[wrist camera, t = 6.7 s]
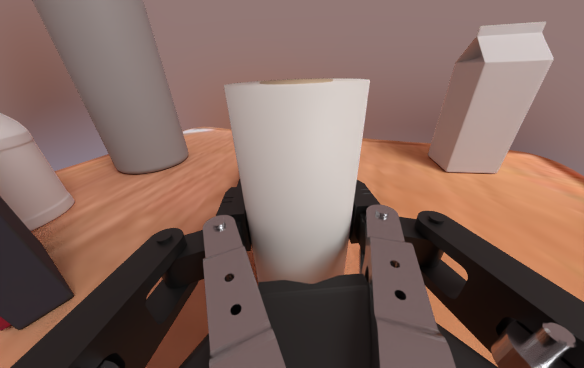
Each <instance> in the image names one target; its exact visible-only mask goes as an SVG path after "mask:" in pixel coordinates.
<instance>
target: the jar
mask: <svg viewBox="0 0 584 368" xmlns="http://www.w3.org/2000/svg"><path fill="white" fill-rule="evenodd" d="M0 196H1V198H2V199H3V200H4V201H5V202H6V203H7V205H8V206H9V207H10V208H11V209H12V210H13V212H14V213H15V214H16V215H17V216H18V217H19V218H20V220H21V221H22V222H23V223H24V224H25V225H26V227H27V228H28V229H29V230H30V231H32V230H34V229H37V228H39V227H41V226H43V225H45V224H47V223H49V222H51V221H52V220H54V219H56V218H57V217H59V216H61V215H62V214H63V213H65V212H66V211H67V210H69V209H70V208H71V207H72V205H73V204H74V202H75V200H74V199H73V197H72V196H71V194H70V193H68V191H67V190H66V188H65V187H64V185H63V184H62V182H61V181H60V179H59V178H58V176H57V175H56V173H55V172H54V170H53V169H52V167H51V166H50V164H49V163H48V161H47V160H46V158H45V157H44V155H43V154H42V152H41V151H40V149H39V148H38V146H37V145H36V143H35V142H34V138H33V137H32V135H31V134H30V132H29V131H28V130H27V129H26V128H25V127H24V126H22V125H21V124H20V123H19V122H17V121H16V120H14V119H11V118H10V117H8V116H6V115H4V114H2V113H0Z"/></svg>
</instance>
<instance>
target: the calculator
mask: <svg viewBox="0 0 584 368" xmlns="http://www.w3.org/2000/svg"><path fill="white" fill-rule="evenodd" d="M73 296H74V294H73V293H72V291H71V289H70V288H69V286H68V285H67V283H66V282H65V280H64V278H63V277H62V275H61V274H60V272H59V271H58V269H57V267H56V266H55V264H54V263H53V261H52V260H51V258H50V256H49V255H48V253H47V252H46V250H45V248H44V247H43V245H42V244H41V243H40V242H39V240H38V239H37V238H36V237H35V236H34V235H33V234H32V232H31V231H30V230H29V229H28V228H27V227H26V225H25V224H24V223H23V222H22V221H21V220H20V218H19V217H18V216H17V215H16V214H15V213H14V212H13V210H12V209H11V208H10V207H9V206H8V205H7V203H6V202H5V201H4V200H3V199H2V198H1V196H0V331H1V330H4V329H5V328H7V327H8V326H10V325H12V326H13V327H15V328H16V329H18V330H20V329H23V328H24V327H26V326H28V325H29V324H31V323H32V322H34V321H36V320H37V319H39V318H40V317H42V316H44V315H45V314H47V313H48V312H50V311H52V310H53V309H55V308H56V307H58V306H60V305H61V304H63V303H64V302H66V301H67V300H69V299H71V298H72V297H73Z"/></svg>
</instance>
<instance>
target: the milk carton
mask: <svg viewBox="0 0 584 368" xmlns="http://www.w3.org/2000/svg"><path fill="white" fill-rule="evenodd" d="M545 24H546V22H533V23H519V24H504V25H490V26H480V27H479V31H478V34H477V37H476V38H475V39H474V40H473V41H472V43H471V44H470V45H469V46H468V48H467V49H466V50H465V52H464V53H463V54H462V55H461V56H460V58H459V59H458V60H457V61H456V63H455V66H454V69H453V72H452V76H451V79H450V82H449V86H448V89H447V92H446V95H445V99H444V102H443V106H442V109H441V112H440V116H439V119H438V122H437V126H436V129H435V133H434V136H433V139H432V142H431V146H430V149H429V152H428V156H429V157H430V158H431V159H432V160H434V161H435V162H436V163H437V164H438V165H439V166H440V167H441V168H443V169H444V170H445V171H446V172H469V173H497V172H498V170H499V168H500V166H501V164H502V162H503V160H504V158H505V156H506V154H507V152H508V150H509V148H510V146H511V144H512V142H513V140H514V138H515V136H516V134H517V132H518V130H519V128H520V126H521V124H522V122H523V120H524V118H525V116H526V114H527V112H528V109H529V108H530V106H531V103H532V102H533V100H534V98H535V96H536V94H537V91H538V89H539V88H540V85H541V84H542V81H543V79H544V77H545V75H546V73H547V71H548V69H549V67H550V65H551V63H552V61H553V59H554V58H553V56H552V54H551V52H550V49H549V47H548V45H547V43H546V41H545V38H544V36H543V34H542V31H543V29H544V26H545Z"/></svg>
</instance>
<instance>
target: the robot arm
mask: <svg viewBox="0 0 584 368" xmlns="http://www.w3.org/2000/svg"><path fill="white" fill-rule="evenodd" d="M349 239H350V242H351V244H353V243H359V245H360V250H359V274H350V275H338V276H335V277H332V278H329V279H326V280H323V281H320V282H318V283H314V284H308V283H302V282H295V281H289V280H277V281H265V282H259V284H258V286H257V283H256V280H255V277H254V274H253V271H252V267H251V264H250V261H249V258H248V255H247V252H246V251H251V238H250V232H249V227H248V221H247V215H246V209H245V204H244V198H243V192H242V186H241V181H240V179H239V182H238V185H237V187H231V188H230V189H229V190H228V191H227V192H226V193H225V195H224V197H223V200H222V203H221V205H220V207H219V210H218V212H217V214H216V217H213V218H211V219H209V220H208V221H207V222H206V223H205V224H204V226H203V230H201V231H198V232H195V233H191V234H187V235H184V234H183V232H182V230H180V229H178V228H169V229H165V230H162V231H160V232H158V233H156V234H154V235H153V236H152V237H150V238H149V239H148V240H147V241H146V242H145V243H144V244H143V245H142V246H141V247H140V248H139V249H137V250H136V251H135V252H134V253H133V254H132V255H131V256H130V257H129V258H128V259H127V260H126V261H125V262H124V263H122V264H121V265H120V266H119V267H118V268H117V269H116V270H115V271H114V272H113V273H112V274H111V275H110V276H108V277H107V278H106V279H105V280H104V281H103V282H102V283H101V284H100V285H99V286H98V287H97V288H96V289H94V290H93V291H92V292H91V293H90V294H89V295H88V296H87V297H86V298H85V299H84V300H83V301H82V302H80V303H79V304H78V305H77V306H76V307H75V308H74V309H73V310H72V311H71V312H70V313H69V314H68V315H67V316H65V317H64V318H63V319H62V320H61V321H60V322H59V323H58V324H57V325H56V326H55V327H54V328H53V329H51V330H50V331H49V332H48V333H47V334H46V335H45V336H44V337H43V338H42V339H41V340H40V341H39V342H37V343H36V344H35V345H34V346H33V347H32V348H31V349H30V350H29V351H28V352H27V353H26V354H25V355H23V356H22V357H21V358H20V359H19V360H18V361H17V362H16V363H15V364H14V365H13V366H12V367H11V368H145V367H146V365H147V363H148V362H149V360H150V359H151V357H152V355H153V354H154V352H155V351H156V349H157V347H158V346H159V344H160V343H161V341H162V339H163V338H164V336H165V335H166V333H167V332H168V330H169V328H170V327H171V325H172V324H173V322H174V320H175V319H176V317H177V316H178V314H179V312H180V311H181V309H182V308H183V306H184V304H185V303H186V301H187V300H188V298H189V296H190V295H191V293H192V292H193V290H194V288H195V287H196V285H197V283H198V281H199V280H202V279H204V280H205V293H206V305H207V317H208V329H209V333H208V335H207V336H206V337H205V338H204V339H203V340H202V341H201V343H200V344H199V345H198V346H197V347H196V348H195V350H194V351H193V352H192V353H191V354H190V355H189V357H188V358H187V359H186V360H185V361H184V362H183V363H182V365H181V366H180V367H179V368H584V302H583V301H581V300H580V299H578V298H576V297H575V296H573V295H572V294H570V293H569V292H567V291H565V290H564V289H562V288H561V287H559V286H557V285H556V284H554V283H553V282H551V281H549V280H548V279H546V278H545V277H543V276H541V275H540V274H538V273H537V272H535V271H533V270H532V269H530V268H529V267H527V266H525V265H524V264H522V263H521V262H519V261H517V260H516V259H514V258H513V257H511V256H509V255H508V254H506V253H505V252H503V251H502V250H500V249H498V248H497V247H495V246H494V245H492V244H490V243H489V242H487V241H486V240H484V239H482V238H481V237H479V236H478V235H476V234H474V233H473V232H471V231H470V230H468V229H466V228H465V227H463V226H462V225H460V224H458V223H457V222H455V221H454V220H452V219H450V218H449V217H447V216H445V215H443V214H441V213H438V212H434V211H422V212H420V213H419V214H418V216H417V219H411V218H403V217H399V216H398V213H397V212H396V211H395V210H394V209H392V208H390V207H388V206H384V205H380V203H379V202H378V201H377V199H376V198H375V197H374V196H373V194H372V193H371V192H370V190H369V189H368V188H367V187H366V185H365V184H364V183H362V182H360V181H359V180H357V181H356V189H355V196H354V203H353V211H352V218H351V226H350V233H349ZM444 252H445V253H446V254H447V255H448V256H450V257H451V258H452V259H453V260H455V261H456V262H457V263H459V264H460V265H461V266H462V267H463V268H464V269H465V270H466V272H467V274H468V280H467V281H466V280H465V279H463V278H462V277H461V276H460V275H459V274H458V273H456V272H455V271H454V270H453V269H452V268H450V267H449V266H448V265H447V264H446V263H444V262H443V261H442V260H441V257H442V255H443V253H444ZM161 277H162V279H163V280H162V281H161V282H160V283H159V285H158V286H157V287H156V288H155V290H154V291H153V292H152V293H151V295H150V296H149V297H148V298H147V300H146V297H147V295H148V293H149V292H150V290H151V289H152V288H153V287H154V285H155V284H156V283H157V282H158V280H159V279H160V278H161ZM425 286H426V287H427V288H428V289H429V290H430V291H431V292H432V293H433V294H434V295H435V296H436V297H437V298H438V299H439V300H440V301H441V302H442V303H443V304H444V305H445V306H446V307H447V308H448V309H449V310H450V311H451V312H452V313H453V314H454V315H455V316H456V317H457V318H458V320H459V321H460V322H461V323H462V324H463V325H464V326H465V327H466V328H467V329H468V330H469V331H470V332H471V333H472V334H473V335H474V336H475V337H476V338H477V339H478V340H479V341H480V342H481V343H482V344H483V345H484V346H485V347H486V348H487V349H488V350H489V351H490V352H491V353H492V356H493V358H494V360H495V362H496V364H497V365H498V367H497V366H495V365H494V364H492V363H491V362H490V361H488V360H487V359H486V358H484V357H483V356H481V355H480V354H479V353H477V352H476V351H475V350H473V349H472V348H470V347H469V346H468V345H466V344H465V343H464V342H462V341H461V340H459V339H458V338H457V337H455V336H454V335H453V334H451V333H450V332H448V331H447V330H446V329H444V328H443V327H442V326H440V325H439V324H437V323H436V322H435V318H434V315H433V312H432V308H431V305H430V301H429V298H428V295H427V291H426V288H425Z"/></svg>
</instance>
